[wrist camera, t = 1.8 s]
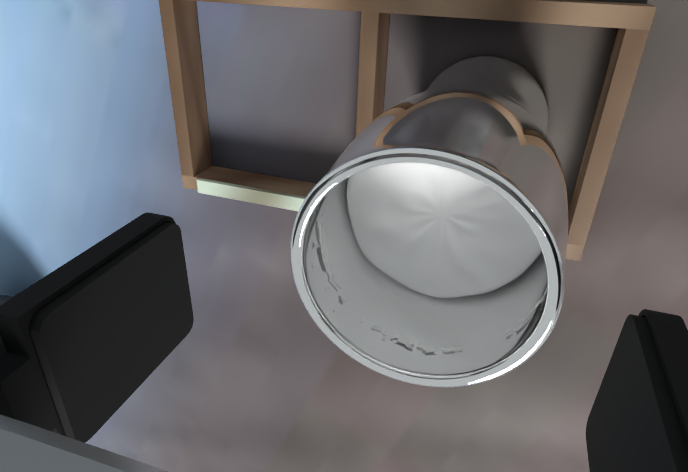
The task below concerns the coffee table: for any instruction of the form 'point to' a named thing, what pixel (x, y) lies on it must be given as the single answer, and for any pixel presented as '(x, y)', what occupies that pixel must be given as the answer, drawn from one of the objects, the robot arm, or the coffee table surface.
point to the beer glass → (441, 232)
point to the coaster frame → (376, 5)
